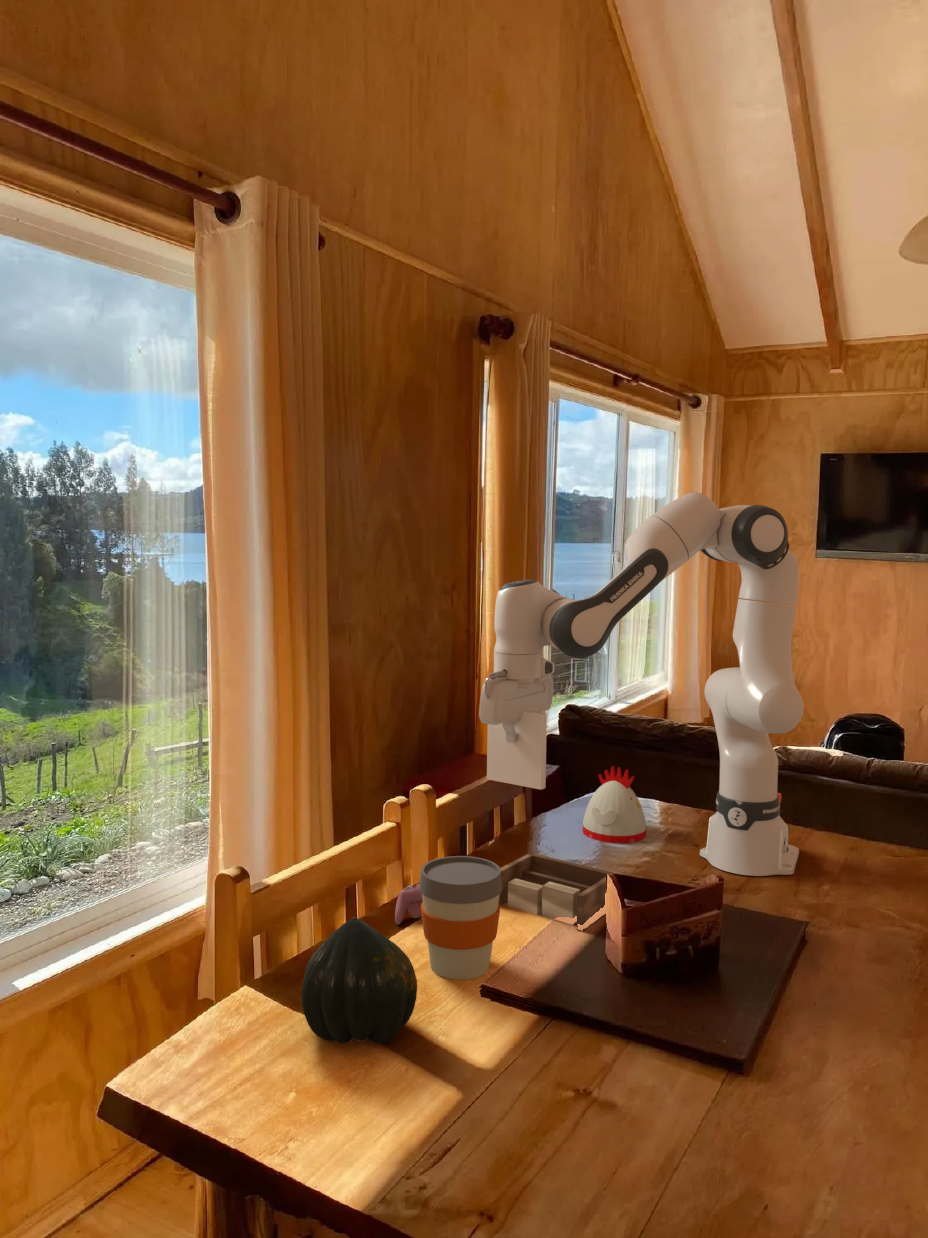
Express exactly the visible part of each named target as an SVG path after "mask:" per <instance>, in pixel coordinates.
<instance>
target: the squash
mask: <svg viewBox="0 0 928 1238" xmlns="http://www.w3.org/2000/svg"><path fill="white" fill-rule="evenodd" d="M303 976H304V977H303V982H302V987H301V993H300V994H301V1006H302V1011H303V1015H304V1018H305V1021H306V1022H307V1024H308V1027H309V1029H310V1030H311V1032H312V1033H314V1035H315V1036H317V1038H320V1039H321V1040H324V1041H328V1042H337V1043H340V1044H346V1043H348V1042H350V1041H351V1040H352V1039H353V1040H355V1041H357V1042H363V1041H366V1040H369V1042H371V1043H373V1044H378V1045H383V1044H387V1043H389V1042H392V1041H393V1040H394V1039H395V1038H396V1036H397V1035H398V1033H399V1031H400V1029H401V1028H402V1027H404V1026H405V1025H406V1024H407V1023H408V1022H409V1021H410V1019H411V1017H412V1015H413V1012H414V1010H415V1005H416V1001H417V993H418V980H417V976H416V972H415V968H414V966H413V964H412V961H411V959H410V958H409V957H408V955H407V954H406V953H405V952H404V951H403V949H402V948H401V947H399V946H398V944H396V943H395V942H393V941H392V940H391V939H389V938H388V937H386V936H385V935H383V934H382V933H381V932H379V931H378V930H376V929H375V928H374V927H372V926H370V925H369V924H368V923H366V922H364V921H363V920H361V919H358V917H354V916H353V917H351V919H349V920H348V921H345V922H344V923H343V924H341V926H340V927H339V928H337V929H336V930H335V931H334V932H333V933H332V934H331V935H330V936H329V937H328V938H327V939H326V940H325V941H323V942H322V944H321V945H319V946H318V948H317V949H316V951H314V953H313V954H312V955H311V957H310V958H309V960H308V962H307V964H306V966H305V971H304V975H303Z"/></svg>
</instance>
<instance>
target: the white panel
mask: <svg viewBox="0 0 928 1238" xmlns="http://www.w3.org/2000/svg"><path fill="white" fill-rule="evenodd" d="M547 719H548V714H547V712H545V711H543V712H536V711H529V710H527V711H523V716H522V718H518V719H516V725H514V728H515V731H516V733H518V741H517V742H514V743H508V742H506V732H505V730H504V728H503V725H502V723H501V724H497V725H492V724H487V733H486V734H487V736H486V738H487V740H486V780H489V781H493V782H500V783H505V784H510V785H515V786H520V787H526V788H530V789H535V790H536V789H537V790H544V789H546V782H547V780H546V779H547V777H546V775H547V773H546V772H547V727H548V726H547V724H548V723H547V722H548V721H547Z"/></svg>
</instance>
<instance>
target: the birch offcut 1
mask: <svg viewBox="0 0 928 1238" xmlns="http://www.w3.org/2000/svg"><path fill="white" fill-rule="evenodd" d="M507 908H511V909H514V910H518V911H522V912H525V913H529V914H532V915H534V916H538V915H539V914H542V885H539V884H535V883H531V882H527V881H524V880H520V879H516V878H515V879H513V880H511V881H510V882H508V900H507Z"/></svg>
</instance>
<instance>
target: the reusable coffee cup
mask: <svg viewBox="0 0 928 1238" xmlns="http://www.w3.org/2000/svg"><path fill="white" fill-rule="evenodd" d="M500 868H501V867H500V866H499V865H498V864H497V863H496V862H493V861H491V860H489V859H486V858H480V857H477V856H470V855H469V856H468V855H455V856H452V855H451V856H445V857H439V858H435V859H432V860H429V861H428V862H426V863H424V864H423V865H422V866H421V869H420V877H419V883H418V884H419V890H420V892H421V893H422V899H423V902H421V903H420V905H421V913H422V916H421V919H422V921H421V922H422V930H423V936H424V938H425V940H426V941H427V948H428V954H429V966H430V969H431V971H432V972H433V973H434V974H436V975H437V976H439V977H441V978H445V979H449V980H456V981H460V980H461V981H462V980H464V981H465V980H472V979H476V978H479V977H482V976H483V975H485V974H486V973H488V971H489V969H490V967H491V966H490V965H491V957H492V950H493V942H494V941H495V940H496V938H497V935H498V928H499V922H500V913H501V904H499V903H498V902H499V895H500V893H501V892H502V878H501V870H500Z"/></svg>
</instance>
